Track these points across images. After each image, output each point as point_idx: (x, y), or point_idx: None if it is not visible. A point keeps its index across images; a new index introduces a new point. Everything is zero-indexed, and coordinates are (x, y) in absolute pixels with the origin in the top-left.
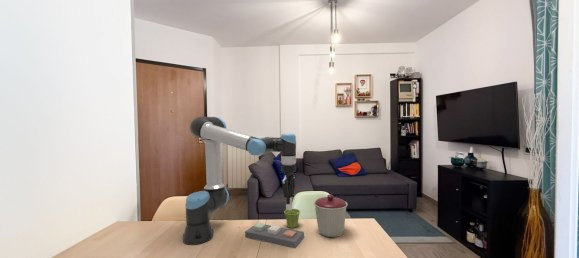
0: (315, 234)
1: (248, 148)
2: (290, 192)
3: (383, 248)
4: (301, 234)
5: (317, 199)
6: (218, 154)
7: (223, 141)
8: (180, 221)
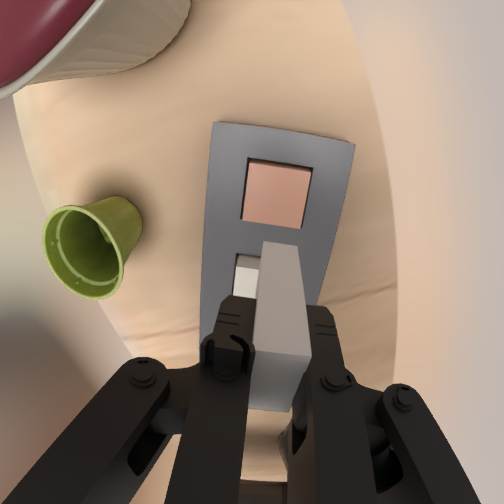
0: (168, 76)
1: None
2: (320, 457)
3: None
4: (254, 127)
5: None
6: None
7: None
8: (243, 473)
